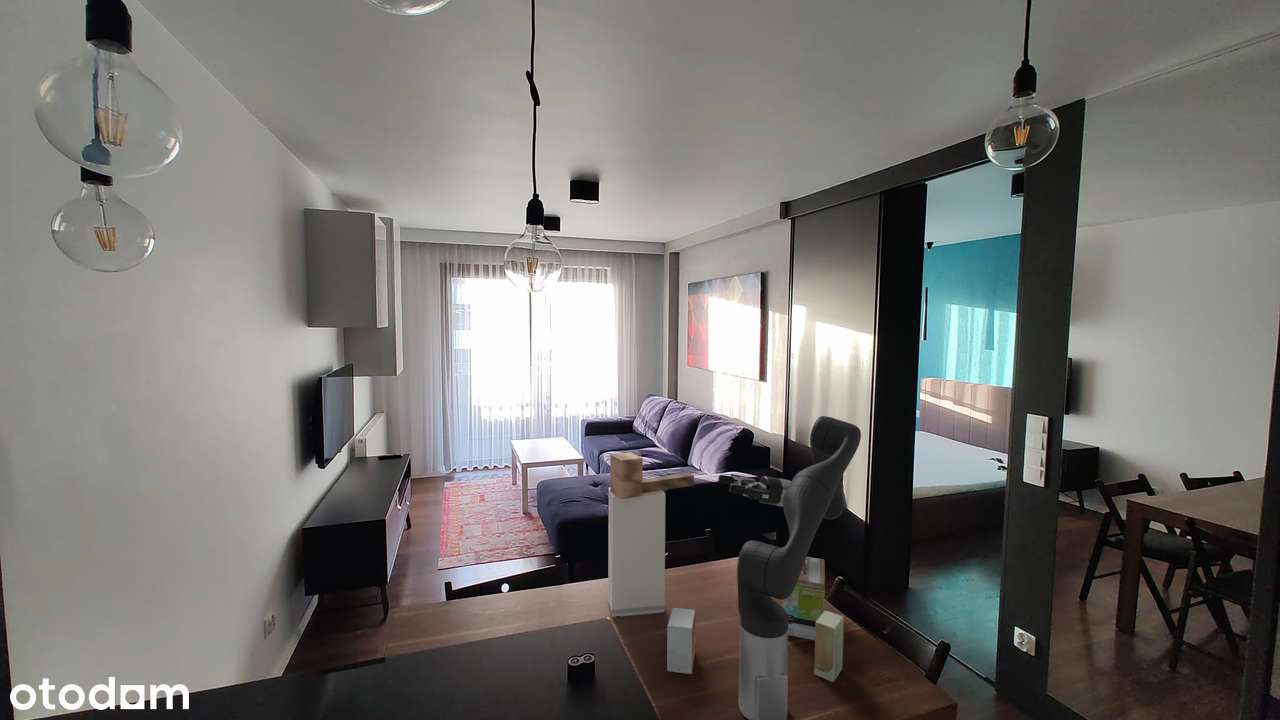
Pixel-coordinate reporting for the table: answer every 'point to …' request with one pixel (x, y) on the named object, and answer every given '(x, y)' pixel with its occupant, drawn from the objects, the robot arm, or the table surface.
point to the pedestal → (636, 554)
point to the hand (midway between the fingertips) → (724, 483)
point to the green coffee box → (806, 599)
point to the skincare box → (828, 645)
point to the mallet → (640, 477)
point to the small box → (681, 640)
